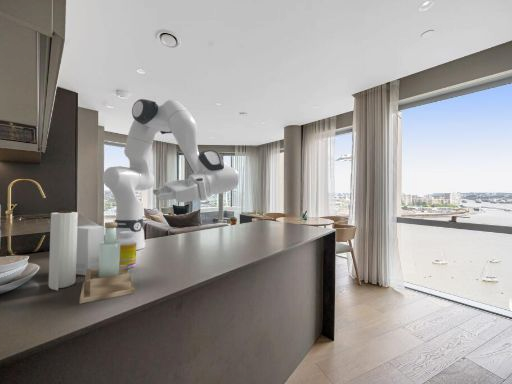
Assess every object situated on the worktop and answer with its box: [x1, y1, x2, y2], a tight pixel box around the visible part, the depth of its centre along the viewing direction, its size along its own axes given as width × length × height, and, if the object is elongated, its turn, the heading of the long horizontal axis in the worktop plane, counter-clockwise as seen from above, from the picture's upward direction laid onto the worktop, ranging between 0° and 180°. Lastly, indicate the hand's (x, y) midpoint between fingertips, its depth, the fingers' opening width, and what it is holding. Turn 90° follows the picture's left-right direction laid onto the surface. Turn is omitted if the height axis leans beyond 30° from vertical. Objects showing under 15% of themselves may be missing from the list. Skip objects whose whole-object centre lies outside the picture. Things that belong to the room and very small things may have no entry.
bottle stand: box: [79, 264, 135, 304], centre depth 65 cm, size 12×12×5 cm
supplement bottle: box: [116, 231, 137, 270], centre depth 85 cm, size 7×7×13 cm
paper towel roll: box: [48, 211, 79, 291], centre depth 67 cm, size 7×6×21 cm
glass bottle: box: [98, 221, 120, 278], centre depth 65 cm, size 5×5×18 cm
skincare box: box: [76, 224, 105, 276], centre depth 78 cm, size 8×7×16 cm
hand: (155, 194), depth 75 cm, fingers open, 8 cm apart
